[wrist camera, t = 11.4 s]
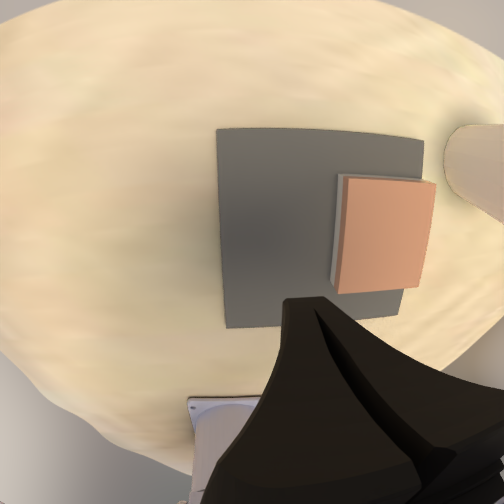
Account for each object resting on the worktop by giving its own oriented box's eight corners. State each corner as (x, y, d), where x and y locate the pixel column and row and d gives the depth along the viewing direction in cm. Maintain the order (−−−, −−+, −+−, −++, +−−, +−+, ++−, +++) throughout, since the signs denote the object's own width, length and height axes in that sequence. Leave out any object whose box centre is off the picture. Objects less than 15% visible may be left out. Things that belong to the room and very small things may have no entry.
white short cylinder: (493, 117, 16) (559, 127, 10) (496, 200, 19) (555, 228, 12) (432, 117, 16) (504, 123, 10) (438, 212, 19) (502, 249, 13)
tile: (329, 280, 20) (406, 275, 20) (337, 294, 18) (418, 287, 18) (338, 173, 17) (421, 178, 17) (348, 178, 15) (436, 184, 16)
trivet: (394, 311, 22) (397, 315, 21) (226, 323, 21) (226, 328, 21) (419, 140, 17) (424, 140, 16) (217, 129, 16) (216, 129, 16)
